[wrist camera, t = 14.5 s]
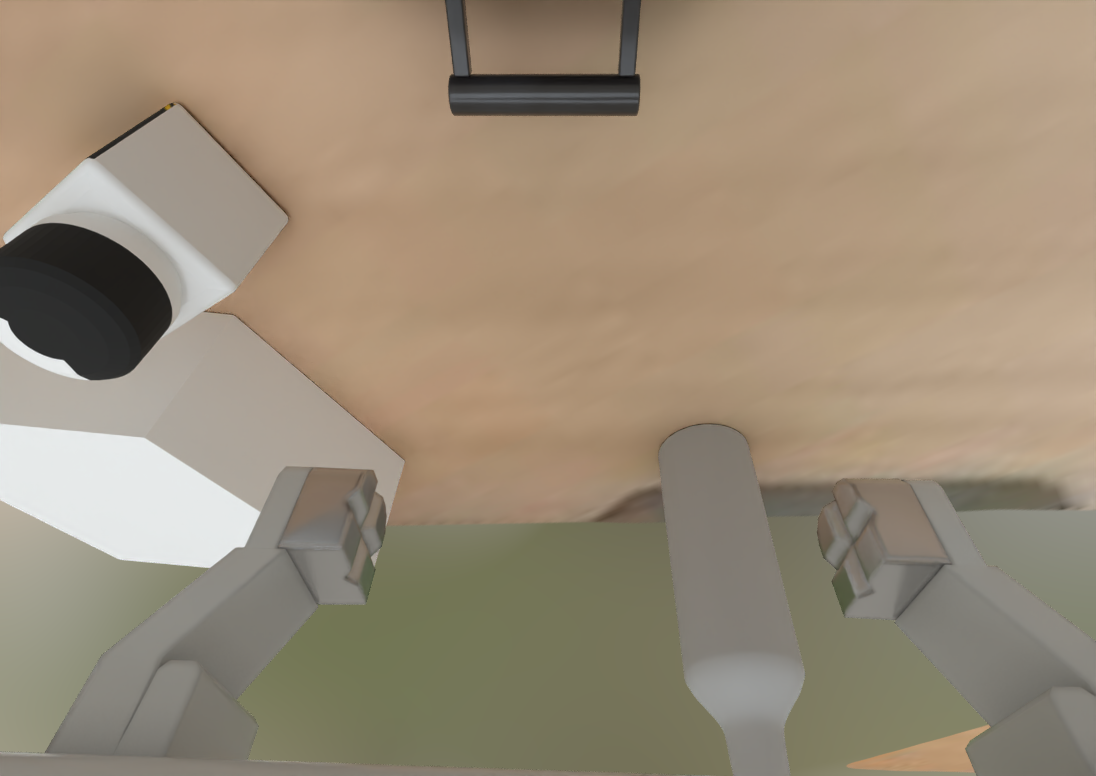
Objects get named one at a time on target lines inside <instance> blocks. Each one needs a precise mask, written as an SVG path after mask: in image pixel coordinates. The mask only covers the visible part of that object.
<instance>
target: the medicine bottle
mask: <svg viewBox="0 0 1096 776" xmlns="http://www.w3.org/2000/svg"><path fill="white" fill-rule="evenodd" d="M287 223H288V216H287V215H286V213H285V212H284V211H283V210H282V209H281V208H280V207H279V206H278V205H277V204H276V203H275V202H274V201H273V200H272V199H271V198H270V197H269V196H268V195H267V194H266V193H265V192H264V191H263V190H262V189H261V187H260V186H259V185H258V184H257V183H256V182H255V181H254V180H253V179H252V178H251V177H250V176H249V175H248V174H247V173H246V172H245V171H244V170H243V169H242V168H241V167H240V166H239V165H238V164H237V163H236V162H235V161H234V160H233V158H232V157H231V156H230V155H229V154H228V153H227V152H226V151H225V150H224V149H223V148H222V147H221V146H220V145H219V144H218V143H217V142H216V141H215V140H214V139H213V138H212V137H211V136H210V135H209V134H208V133H207V132H206V130H205V129H204V128H203V127H202V126H201V125H200V124H199V123H198V122H197V121H196V120H195V119H194V118H193V117H192V116H191V115H190V114H189V113H188V112H187V111H186V110H185V109H184V108H183V107H182V106H181V105H180V104H178V103H171V104H169V105H167V106H166V107H164V108H162V109H161V110H159V111H158V112H156V113H155V114H153V115H152V116H150V117H149V118H147V119H146V120H144V121H143V122H141V123H140V124H138V125H136V126H135V127H133V128H132V129H130V130H129V131H127V132H126V133H124V134H123V135H121V136H120V137H118V138H117V139H115V140H114V141H112V142H111V143H109V144H107V145H106V146H104V147H103V148H101V149H100V150H98V151H97V152H95V153H94V154H92V155H91V156H89V157H88V158H86V159H85V160H84V161H82V162H81V163H80V164H79V165H78V166H77V167H76V168H75V169H74V170H73V171H72V172H71V173H70V174H68V175H67V176H66V177H65V178H64V179H63V180H62V181H61V182H60V183H59V184H58V185H57V186H55V187H54V188H53V189H52V190H51V191H50V192H49V193H48V194H47V195H46V196H45V197H44V198H43V199H41V200H40V201H39V202H38V203H37V204H36V205H35V206H34V207H33V208H32V209H31V210H30V211H29V212H27V213H26V214H25V215H24V216H23V217H22V218H21V219H20V220H19V221H18V222H17V223H16V224H14V225H13V226H12V227H11V228H10V229H9V230H8V231H7V232H6V233H5V235H4V237H3V239H4V241H5V243H6V245H4V246H3V247H1V248H0V342H1V343H2V344H3V345H5V346H6V347H7V348H9V349H10V350H11V351H13V352H14V353H16V354H17V355H19V356H20V357H22V358H24V359H26V360H27V361H29V362H31V363H33V364H35V365H37V366H39V367H41V368H43V369H46V370H48V371H51V372H53V373H56V374H59V375H62V376H66V377H70V378H75V379H80V380H90V381H92V380H108V379H115V378H119V377H122V376H125V375H127V374H129V373H130V372H131V371H133V370H134V369H135V368H136V367H137V365H138V364H139V363H140V362H141V361H142V359H143V358H144V357H145V356H146V355H147V353H148V352H149V351H150V350H151V349H152V348H153V346H154V345H155V344H156V343H157V342H158V340H160V339H162V338H163V337H165V336H166V335H168V334H169V333H171V332H172V331H174V330H176V329H177V328H179V327H180V326H182V325H183V324H185V323H186V322H188V321H190V320H191V319H193V318H194V317H196V316H197V315H199V314H200V313H202V312H204V311H205V310H207V309H208V308H210V307H211V306H213V305H214V304H216V303H218V302H219V301H221V300H222V299H224V298H225V297H227V296H228V295H230V294H231V293H233V292H235V290H236V289H237V288H238V286H239V285H240V284H241V283H242V281H243V280H244V279H245V277H246V276H247V275H248V273H249V272H250V271H251V270H252V268H253V267H254V266H255V264H256V263H257V262H258V260H259V259H260V258H261V257H262V255H263V254H264V253H265V251H266V250H267V249H268V247H269V246H270V245H271V244H272V242H273V241H274V240H275V238H276V237H277V236H278V234H279V233H280V232H281V230H282V229H283V228H284V227H285V225H286V224H287Z"/></svg>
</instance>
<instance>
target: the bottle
mask: <svg viewBox="0 0 1096 776" xmlns="http://www.w3.org/2000/svg"><path fill="white" fill-rule="evenodd" d="M659 466H660V476H661V486H662V496H663V504H664V512H665V520H666V529H667V537H668V545H669V553H670V562H671V570H672V578H673V586H674V595H675V603H676V611H677V619H678V628H679V636H680V643H681V652H682V660H683V669H684V676H685V682H686V684H687V685H688V687H689V689H690V690H691V692H692V693H693V695H694V696H695V697H696V699H697V700H698V701H699V702H700V703H701V704H702V705H703V706H704V707H705V708H706V710H707V711H708V712H709V713H710V714H711V715H712V716H713V717H714V718H715V719H716V721H717V722H718V723H719V725H720V726H721V728H722V729H723V732H724V734H725V738H726V742H727V747H728V752H729V757H730V762H731V766H732V770H733V776H790V770H789V764H788V757H787V751H786V744H785V738H784V726H785V722H786V719H787V717H788V715H789V713H790V711H791V709H792V707H793V705H794V703H795V701H796V699H797V698H798V696H799V694H800V691H801V689H802V685H803V681H804V678H805V672H804V667H803V663H802V659H801V655H800V651H799V647H798V642H797V639H796V634H795V631H794V626H793V622H792V619H791V615H790V610H789V606H788V602H787V598H786V594H785V590H784V585H783V582H782V578H781V573H780V569H779V565H778V561H777V558H776V553H775V549H774V545H773V541H772V537H771V533H770V529H769V524H768V521H767V516H766V512H765V508H764V504H763V500H762V496H761V492H760V488H759V484H758V480H757V476H756V472H755V469H754V465H753V461H752V457H751V454H750V449H749V446H748V443H747V440H746V439H745V438H744V436H743V435H741V434H740V433H739V432H737V431H736V430H734V429H732V428H729V427H726V426H723V425H717V424H716V425H712V424H701V425H696V426H691V427H687V428H685V429H682V430H680V431H678V432H676V433H674V434H673V435H672V436H670V437H669V438H667V439H666V440H665V442H664V443H663V444H662V446H661V448H660V450H659Z"/></svg>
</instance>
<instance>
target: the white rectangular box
mask: <svg viewBox="0 0 1096 776" xmlns="http://www.w3.org/2000/svg"><path fill="white" fill-rule="evenodd" d="M404 462H405V461H404V460H403V459H402V458H401V457H400V456H399V455H397V454H396V453H395V452H394V451H393V450H392V449H390V448H389V447H388V446H387V445H386V444H385V443H383V442H382V441H381V440H380V439H379V438H377V437H376V436H375V435H374V434H373V433H372V432H370V431H369V430H368V429H367V428H366V427H365V426H363V425H362V424H361V423H360V422H359V421H358V420H356V419H355V418H354V417H353V416H352V415H350V414H349V413H348V412H347V411H346V410H345V409H343V408H342V407H341V406H340V405H339V404H338V403H336V402H335V401H334V400H333V399H332V398H331V397H329V396H328V395H327V394H326V393H325V392H324V391H322V390H321V389H320V388H319V387H318V386H316V385H315V384H314V383H313V382H312V381H311V380H309V379H308V378H307V377H306V376H305V375H304V374H302V373H301V372H300V371H299V370H298V369H297V368H295V367H294V366H293V365H292V364H291V363H290V362H288V361H287V360H286V359H285V358H284V357H282V356H281V355H280V354H279V353H278V352H277V351H275V350H274V349H273V348H272V347H271V346H270V345H268V344H267V343H266V342H265V341H264V340H263V339H261V338H260V337H259V336H258V335H257V334H256V333H254V332H253V331H252V330H251V329H250V328H248V327H247V326H246V325H245V324H244V323H243V322H241V321H240V320H239V319H238V318H237V317H236V316H234V315H229V314H219V313H210V312H202V313H200V314H199V315H197V316H196V317H194V318H193V319H191V320H190V321H188V322H186V323H185V324H183V325H182V326H180V327H179V328H177V329H176V330H174V331H172V332H171V333H169V334H168V335H166V336H165V337H163V338H162V339H160V340H158V342H157V343H156V344H155V345H154V346H153V348H152V349H151V350H150V351H149V352H148V353H147V355H146V356H145V357H144V358H143V359H142V361H141V362H140V363H139V364H138V365H137V367H136V368H135V369H134V370H133V371H131V372H130V373H129V374H127V375H125V376H122V377H119V378H115V379H108V380H92V381H90V380H80V379H75V378H70V377H66V376H62V375H59V374H56V373H53V372H51V371H48V370H46V369H43V368H41V367H39V366H37V365H35V364H33V363H31V362H29V361H27V360H26V359H24V358H22V357H20V356H19V355H17V354H16V353H14V352H13V351H11V350H10V349H9V348H7V347H6V346H5V345H3V344H2V343H1V342H0V500H1V501H3V502H5V503H7V504H9V505H11V506H13V507H15V508H17V509H19V510H21V511H23V512H25V513H27V514H29V515H31V516H33V517H35V518H37V519H39V520H41V521H43V522H45V523H47V524H49V525H51V526H53V527H55V528H57V529H59V530H61V531H63V532H65V533H67V534H69V535H71V536H73V537H75V538H77V539H79V540H81V541H84V542H85V543H87V544H89V545H91V546H93V547H95V548H97V549H99V550H101V551H103V552H105V553H107V554H109V555H111V556H113V557H115V558H117V559H119V560H130V561H140V562H151V563H152V562H153V563H163V564H174V565H184V566H195V567H206V568H211V567H212V566H213V565H214V564H216V563H217V562H218V561H219V560H221V559H222V558H223V557H224V556H226V555H227V554H228V553H229V552H231V551H232V550H233V549H234V548H236V547H245V545H246V543H247V540H248V538H249V536H250V534H251V532H252V530H253V528H254V526H255V523H256V521H257V519H258V517H259V515H260V513H261V511H262V508H263V506H264V504H265V502H266V500H267V498H268V496H269V493H270V491H271V489H272V487H273V485H274V483H275V481H276V479H277V476H278V474H279V473H280V472H281V471H282V470H283V469H284V468H285V467H286V466H295V467H323V468H345V469H367V470H374V472H375V475H376V478H377V480H378V483H377V486H376V490H375V491H376V492H377V493H378V494H380V495H381V496H383V499H384V502H385V505H386V515H387V518H386V525H387V521H388V518H389V514H390V511H391V507H392V504H393V500H394V497H395V494H396V490H397V487H398V483H399V480H400V476H401V473H402V469H403V466H404ZM378 552H379V550H378V551H377V552H376V553H375V554H374V555H373V556H372V557H371V559H372V562H373V565H374V566H375V563H376V559H377V556H378Z"/></svg>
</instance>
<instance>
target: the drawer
mask: <svg viewBox="0 0 1096 776" xmlns="http://www.w3.org/2000/svg"><path fill="white" fill-rule="evenodd" d="M445 4H446V12H447V21H448V30H449V38H450V47H451V56H452V64H453V73H454V74H452V75H450V78H449V84H448V93H449V103H450V109H451V112H452V114H453V115H454V116H637V114H638V110H639V102H640V75H639V74H635V71H636V58H637V46H638V33H639V21H640V8H641V0H622V14H621V31H620V47H619V63H618V74H471V72H472V68H471V58H470V47H469V37H468V26H467V16H466V5H465V0H445Z"/></svg>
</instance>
